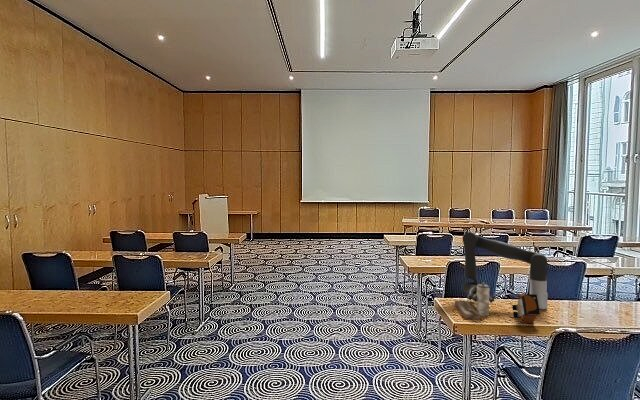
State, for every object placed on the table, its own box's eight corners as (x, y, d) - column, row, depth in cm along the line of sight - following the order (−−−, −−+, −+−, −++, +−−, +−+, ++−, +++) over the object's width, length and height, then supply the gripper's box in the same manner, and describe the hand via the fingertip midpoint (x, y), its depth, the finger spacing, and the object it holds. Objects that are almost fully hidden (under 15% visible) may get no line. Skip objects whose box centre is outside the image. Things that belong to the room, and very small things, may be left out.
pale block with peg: (486, 313, 250) (486, 281, 249) (488, 316, 244) (489, 283, 243) (476, 312, 250) (477, 281, 250) (478, 315, 245) (479, 283, 244)
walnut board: (468, 305, 266) (468, 301, 266) (480, 319, 237) (480, 314, 237) (454, 304, 267) (455, 300, 267) (465, 318, 238) (465, 314, 238)
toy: (510, 297, 247) (524, 289, 229) (520, 297, 247) (535, 289, 229) (515, 325, 241) (530, 320, 223) (525, 326, 240) (541, 320, 222)
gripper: (465, 287, 262) (471, 293, 246) (489, 288, 260) (497, 294, 244) (464, 299, 262) (470, 306, 246) (489, 300, 260) (496, 307, 244)
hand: (483, 300), depth 245 cm, fingers open, 8 cm apart
